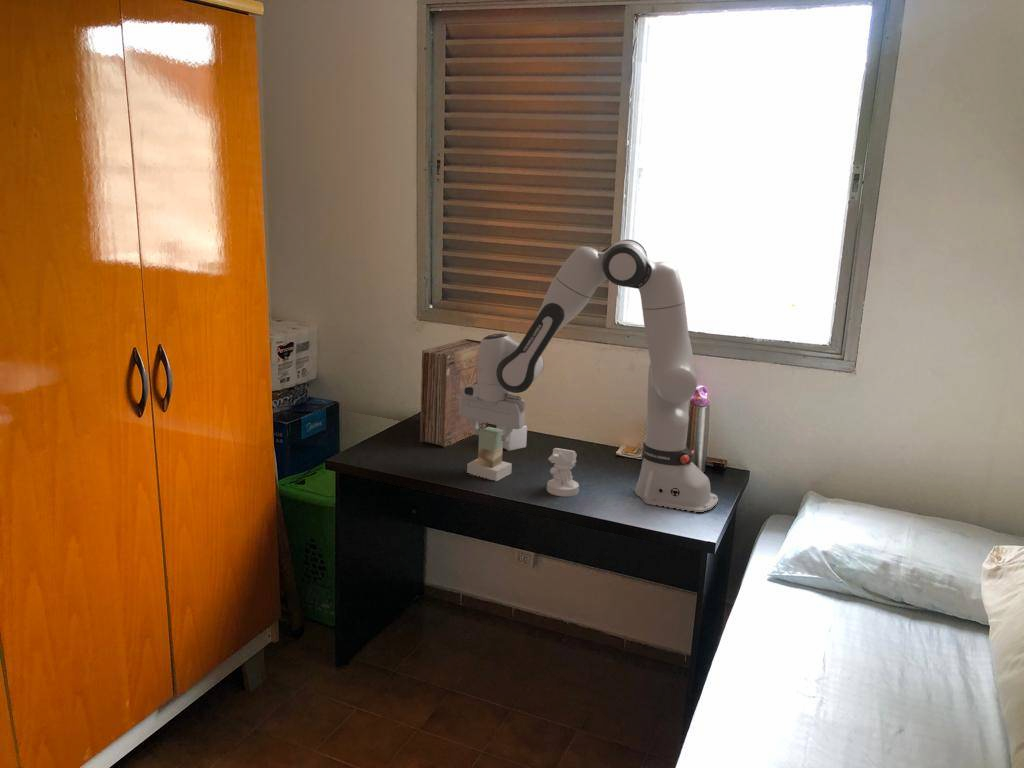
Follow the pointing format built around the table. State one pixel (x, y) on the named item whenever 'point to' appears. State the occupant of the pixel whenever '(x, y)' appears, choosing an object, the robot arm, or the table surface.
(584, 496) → the table surface
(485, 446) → the sage cube
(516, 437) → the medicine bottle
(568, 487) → the character figurine
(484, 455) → the maple cube
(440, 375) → the book
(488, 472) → the tile slab
